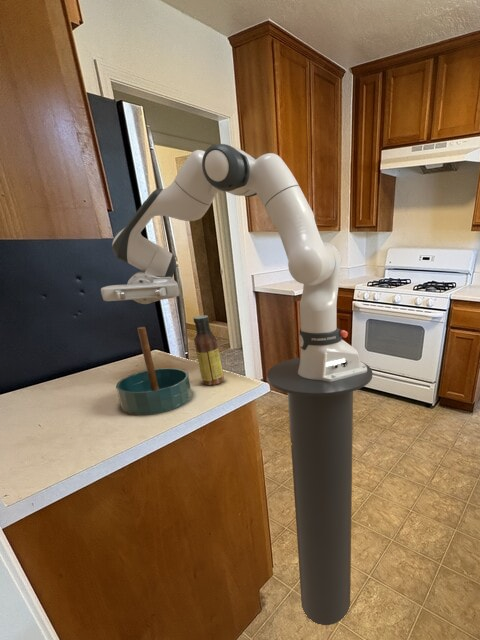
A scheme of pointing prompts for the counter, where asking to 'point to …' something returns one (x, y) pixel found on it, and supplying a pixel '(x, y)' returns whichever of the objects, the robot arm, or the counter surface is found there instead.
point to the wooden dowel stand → (148, 358)
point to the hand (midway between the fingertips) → (140, 294)
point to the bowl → (154, 392)
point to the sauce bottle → (207, 352)
